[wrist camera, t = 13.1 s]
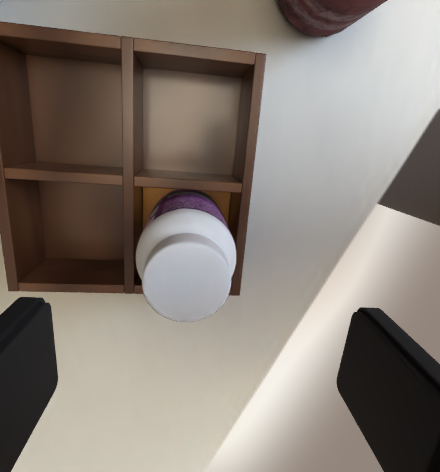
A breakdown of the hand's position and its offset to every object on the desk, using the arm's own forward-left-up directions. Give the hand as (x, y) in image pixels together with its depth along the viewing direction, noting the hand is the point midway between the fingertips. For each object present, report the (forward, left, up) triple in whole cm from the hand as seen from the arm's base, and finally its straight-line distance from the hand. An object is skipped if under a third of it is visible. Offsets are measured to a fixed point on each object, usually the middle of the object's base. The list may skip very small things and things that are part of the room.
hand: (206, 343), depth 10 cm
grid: (+4, -3, -15) cm, 16 cm away
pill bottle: (+1, 0, -14) cm, 14 cm away
